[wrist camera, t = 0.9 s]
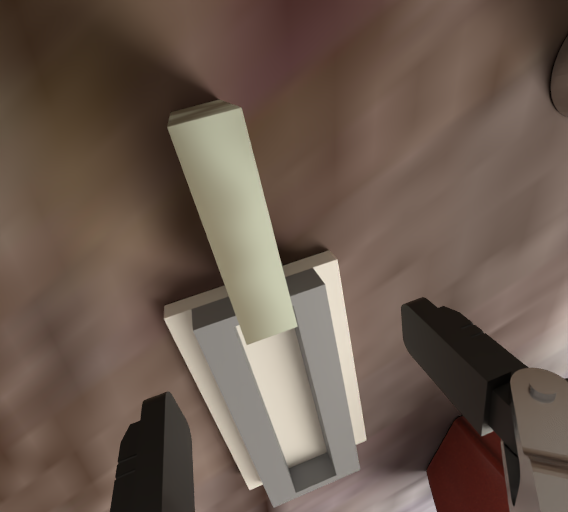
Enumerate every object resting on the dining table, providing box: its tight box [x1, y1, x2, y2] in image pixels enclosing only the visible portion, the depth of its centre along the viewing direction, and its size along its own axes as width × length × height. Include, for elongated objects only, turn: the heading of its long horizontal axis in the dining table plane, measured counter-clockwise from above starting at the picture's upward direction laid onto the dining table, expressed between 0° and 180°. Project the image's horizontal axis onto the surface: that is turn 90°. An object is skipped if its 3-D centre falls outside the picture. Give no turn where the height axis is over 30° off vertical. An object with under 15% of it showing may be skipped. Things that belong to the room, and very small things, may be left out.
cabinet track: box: [164, 250, 366, 507], centre depth 37 cm, size 16×28×5 cm, turn 13°
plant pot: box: [426, 416, 509, 512], centre depth 49 cm, size 19×19×17 cm
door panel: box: [167, 100, 298, 345], centre depth 24 cm, size 4×14×10 cm, turn 13°
